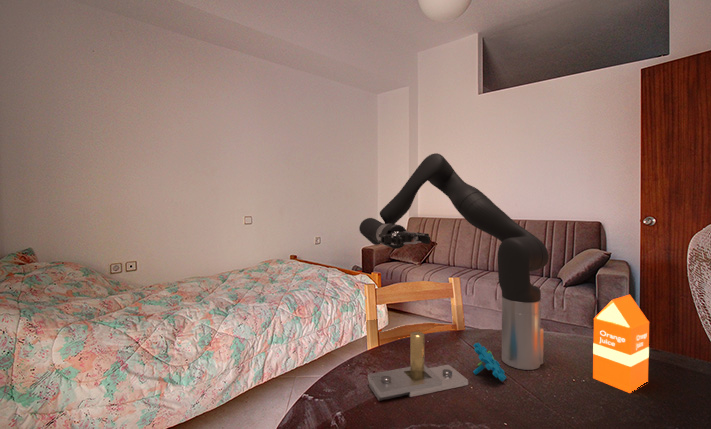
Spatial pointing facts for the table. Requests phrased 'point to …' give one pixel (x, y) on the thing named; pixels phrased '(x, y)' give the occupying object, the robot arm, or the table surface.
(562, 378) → the table surface
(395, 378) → the bolted metal plate
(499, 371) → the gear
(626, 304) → the orange juice
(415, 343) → the brass pin
